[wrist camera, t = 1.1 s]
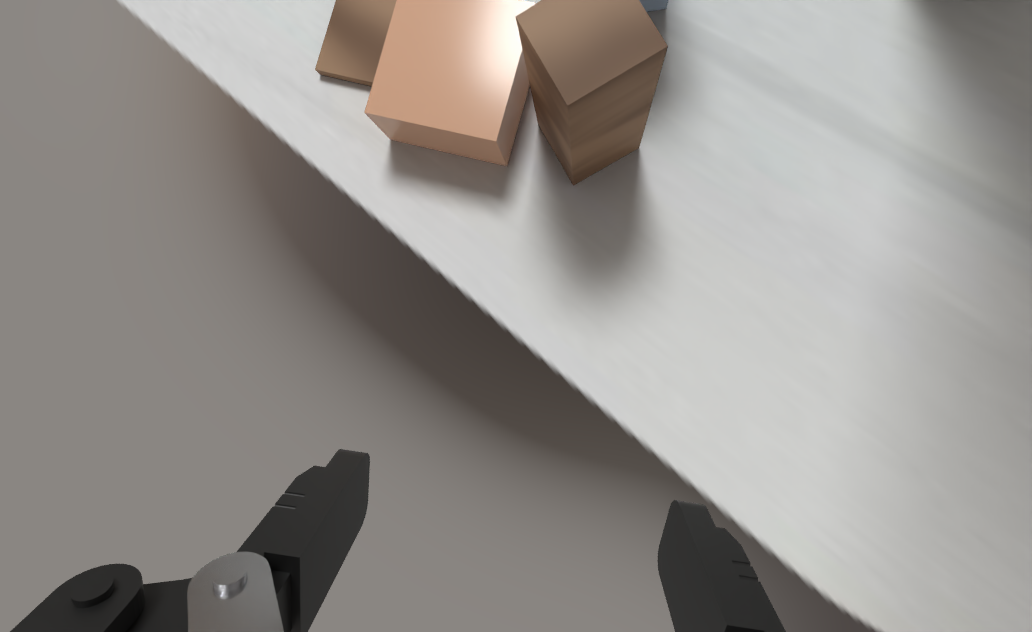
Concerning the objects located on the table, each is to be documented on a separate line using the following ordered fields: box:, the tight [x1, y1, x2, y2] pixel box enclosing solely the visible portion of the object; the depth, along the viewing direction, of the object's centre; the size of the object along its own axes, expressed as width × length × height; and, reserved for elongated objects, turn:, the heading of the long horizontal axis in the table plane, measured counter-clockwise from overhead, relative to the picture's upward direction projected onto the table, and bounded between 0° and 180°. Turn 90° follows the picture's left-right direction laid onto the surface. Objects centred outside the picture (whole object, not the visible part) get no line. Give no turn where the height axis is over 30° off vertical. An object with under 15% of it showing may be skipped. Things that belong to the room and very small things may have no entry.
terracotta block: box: [364, 0, 535, 166], centre depth 29 cm, size 8×8×4 cm
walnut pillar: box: [516, 0, 668, 185], centre depth 24 cm, size 4×4×10 cm
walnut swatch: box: [315, 0, 397, 86], centre depth 31 cm, size 6×6×1 cm
